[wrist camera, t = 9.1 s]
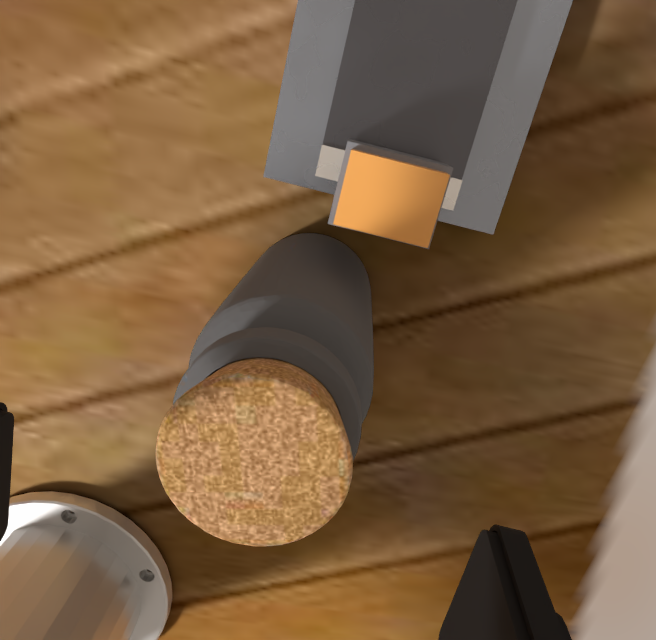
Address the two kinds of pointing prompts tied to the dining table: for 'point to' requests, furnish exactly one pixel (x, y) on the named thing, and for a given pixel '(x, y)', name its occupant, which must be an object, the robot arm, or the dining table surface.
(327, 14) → the panel
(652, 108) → the dining table surface
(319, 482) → the bottle
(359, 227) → the toggle
